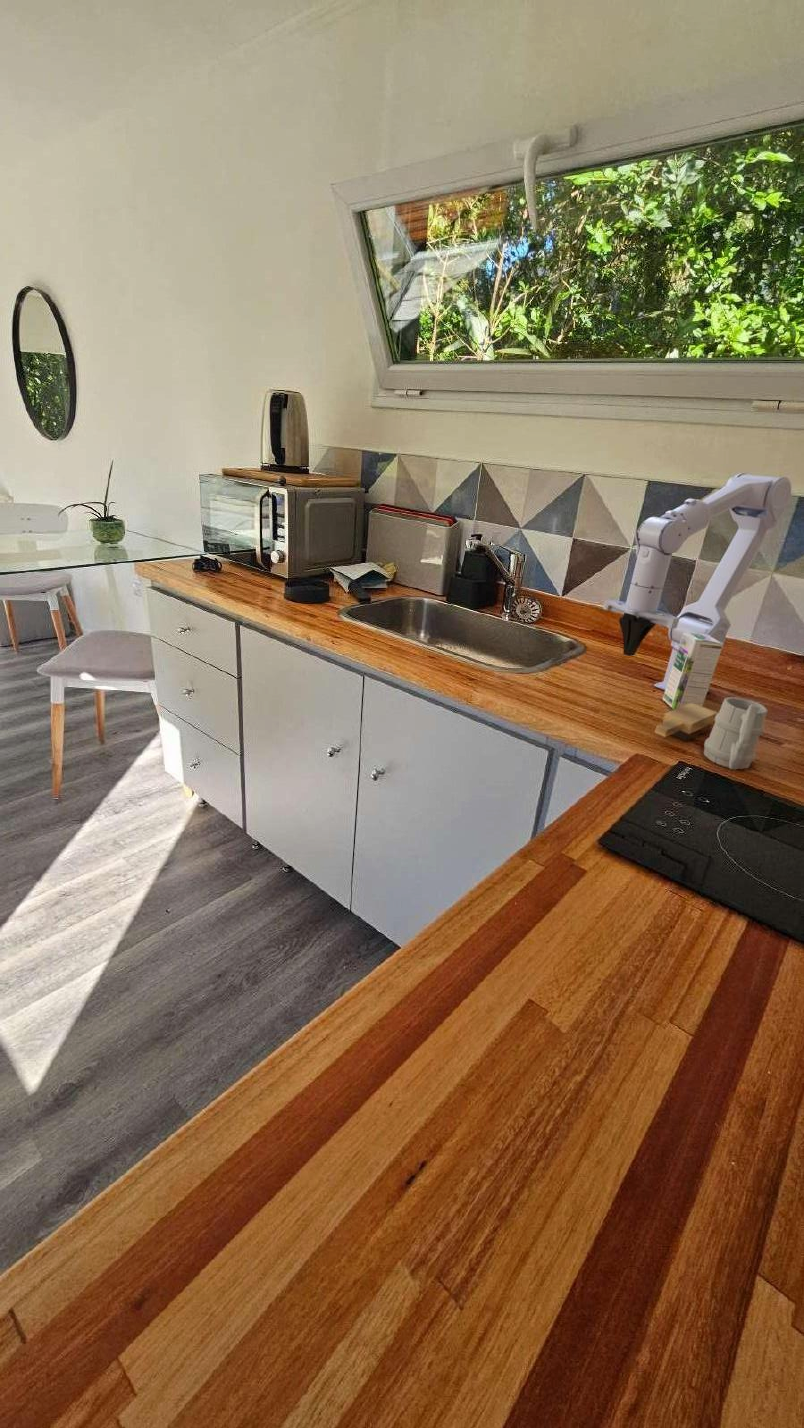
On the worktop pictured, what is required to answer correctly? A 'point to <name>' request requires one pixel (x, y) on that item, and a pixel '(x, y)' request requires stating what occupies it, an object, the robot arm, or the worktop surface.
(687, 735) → the scrub brush
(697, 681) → the syrup box
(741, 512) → the robot arm
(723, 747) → the mug
